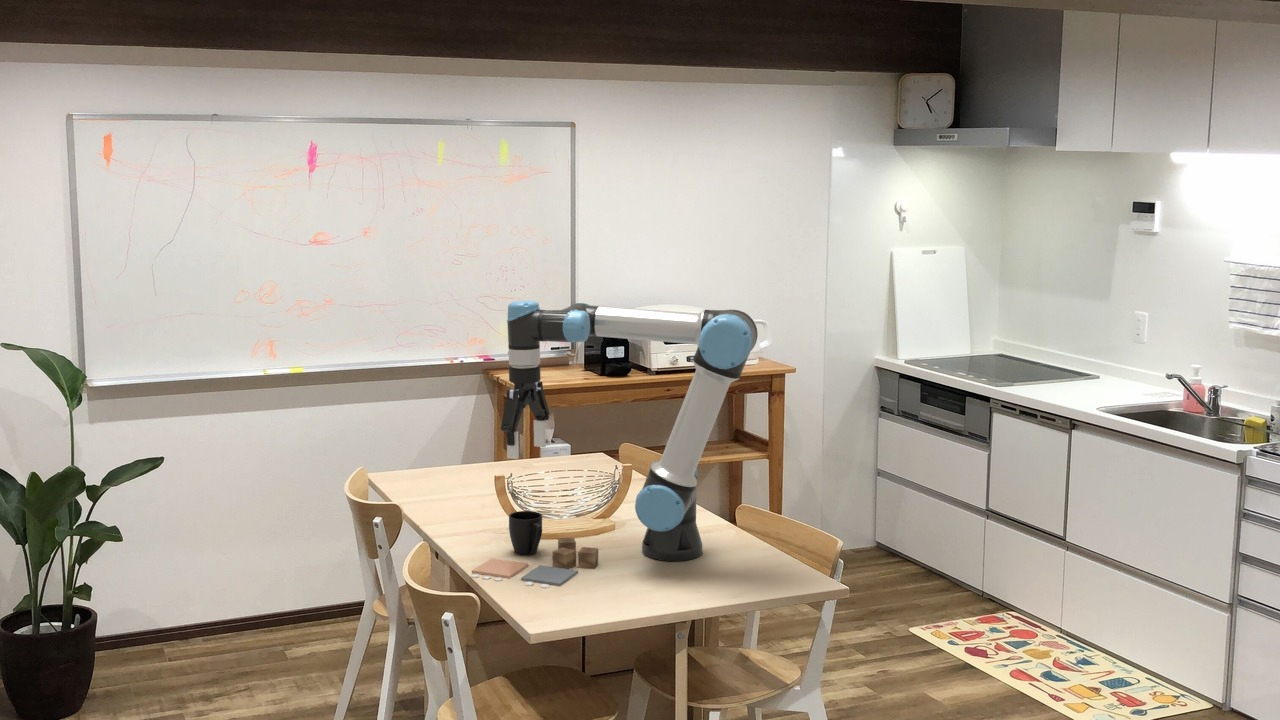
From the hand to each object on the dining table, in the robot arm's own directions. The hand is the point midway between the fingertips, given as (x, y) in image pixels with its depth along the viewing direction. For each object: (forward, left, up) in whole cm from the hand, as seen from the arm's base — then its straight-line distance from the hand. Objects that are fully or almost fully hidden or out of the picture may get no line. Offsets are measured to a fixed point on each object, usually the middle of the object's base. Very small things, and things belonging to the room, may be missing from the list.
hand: (526, 452), depth 298 cm
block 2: (-11, +2, -27) cm, 29 cm away
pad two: (-11, +12, -27) cm, 31 cm away
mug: (+1, -3, -27) cm, 27 cm away
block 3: (-16, -1, -27) cm, 31 cm away
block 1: (-8, -6, -27) cm, 28 cm away
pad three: (+2, +12, -27) cm, 29 cm away
